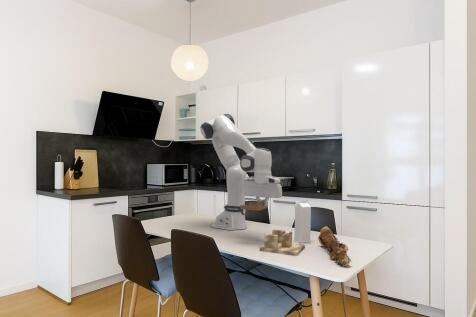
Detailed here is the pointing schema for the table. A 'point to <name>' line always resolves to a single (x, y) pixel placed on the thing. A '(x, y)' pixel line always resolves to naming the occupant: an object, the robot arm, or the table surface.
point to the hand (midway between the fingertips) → (262, 205)
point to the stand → (281, 243)
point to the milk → (302, 222)
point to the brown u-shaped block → (255, 206)
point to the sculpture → (334, 246)
